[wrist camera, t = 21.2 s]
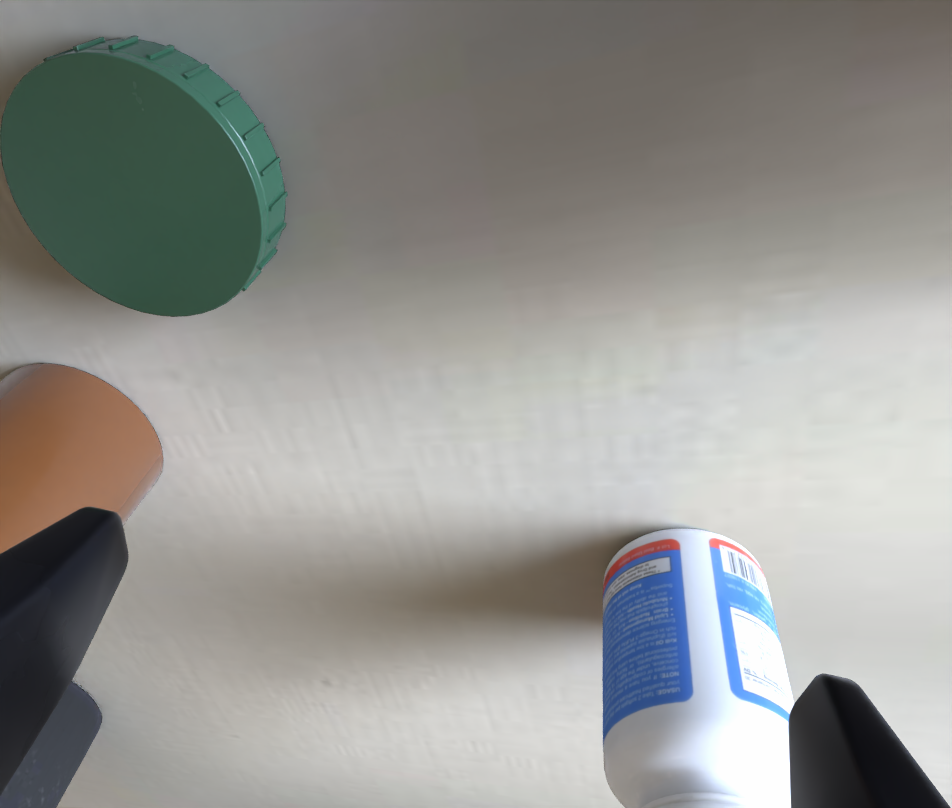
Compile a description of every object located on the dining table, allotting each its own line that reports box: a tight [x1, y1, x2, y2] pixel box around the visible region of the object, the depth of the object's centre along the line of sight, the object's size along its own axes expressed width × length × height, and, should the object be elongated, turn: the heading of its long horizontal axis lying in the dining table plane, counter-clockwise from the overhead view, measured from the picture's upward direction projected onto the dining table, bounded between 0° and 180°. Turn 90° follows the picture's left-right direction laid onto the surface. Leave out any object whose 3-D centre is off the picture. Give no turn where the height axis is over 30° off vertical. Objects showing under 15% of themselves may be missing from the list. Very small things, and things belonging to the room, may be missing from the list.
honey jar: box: [0, 363, 163, 554], centre depth 23 cm, size 6×6×8 cm
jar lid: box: [0, 36, 287, 317], centre depth 19 cm, size 7×7×2 cm
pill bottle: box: [602, 528, 794, 808], centre depth 22 cm, size 6×5×10 cm
